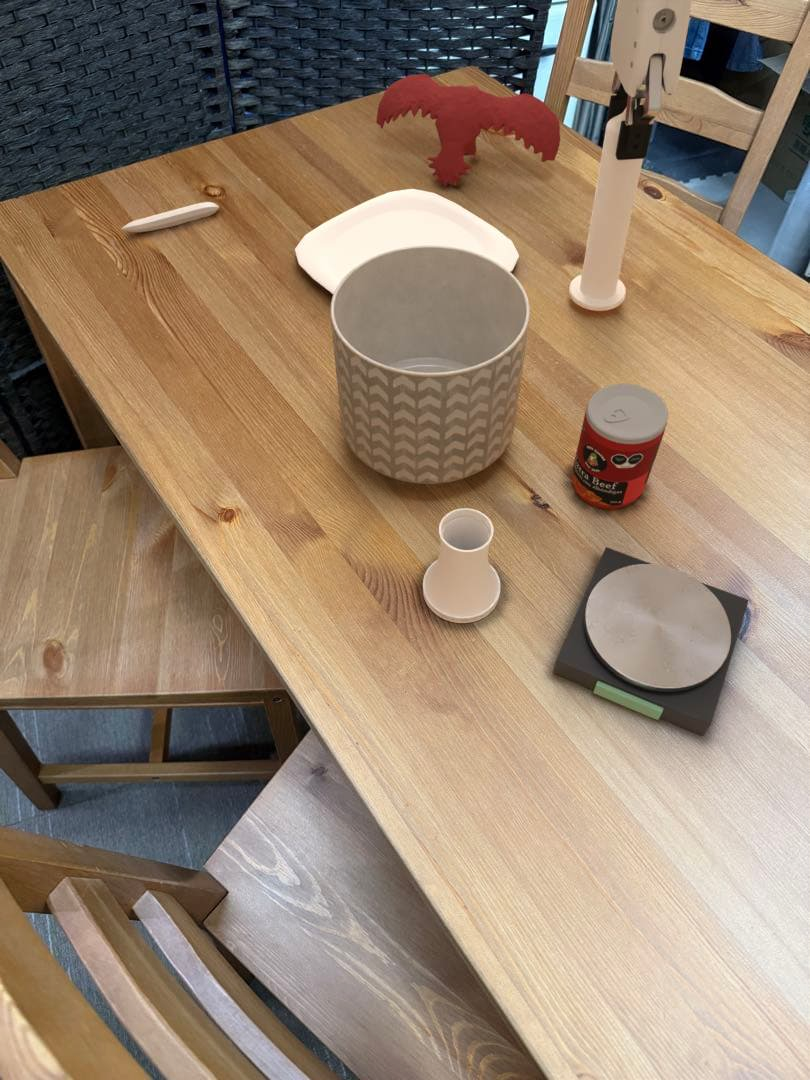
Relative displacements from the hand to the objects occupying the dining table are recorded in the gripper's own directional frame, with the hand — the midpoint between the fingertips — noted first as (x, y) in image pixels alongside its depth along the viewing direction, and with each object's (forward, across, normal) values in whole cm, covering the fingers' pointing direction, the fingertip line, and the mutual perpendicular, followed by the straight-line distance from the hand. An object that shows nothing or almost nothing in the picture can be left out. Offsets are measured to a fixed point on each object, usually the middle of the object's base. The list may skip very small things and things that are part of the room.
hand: (625, 143), depth 93 cm
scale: (+21, -50, +5) cm, 54 cm away
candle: (+20, 0, 0) cm, 20 cm away
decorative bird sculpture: (+21, +32, +14) cm, 41 cm away
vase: (+21, -42, +22) cm, 52 cm away
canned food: (+21, -30, +5) cm, 37 cm away
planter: (+21, -22, +23) cm, 38 cm away
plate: (+21, +10, +24) cm, 33 cm away
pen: (+20, +21, +56) cm, 63 cm away
